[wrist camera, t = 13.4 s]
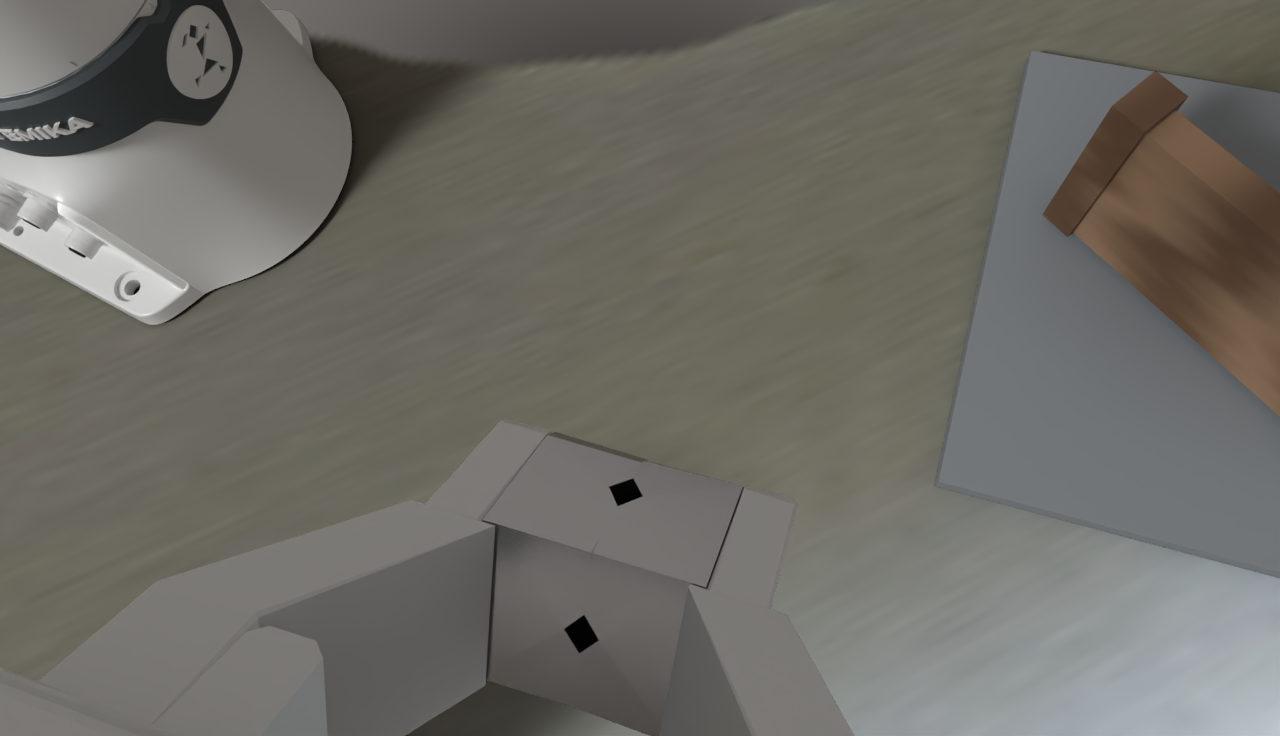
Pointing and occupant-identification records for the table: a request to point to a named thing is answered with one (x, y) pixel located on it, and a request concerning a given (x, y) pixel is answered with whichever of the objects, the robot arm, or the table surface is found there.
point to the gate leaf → (1183, 229)
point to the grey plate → (1108, 350)
